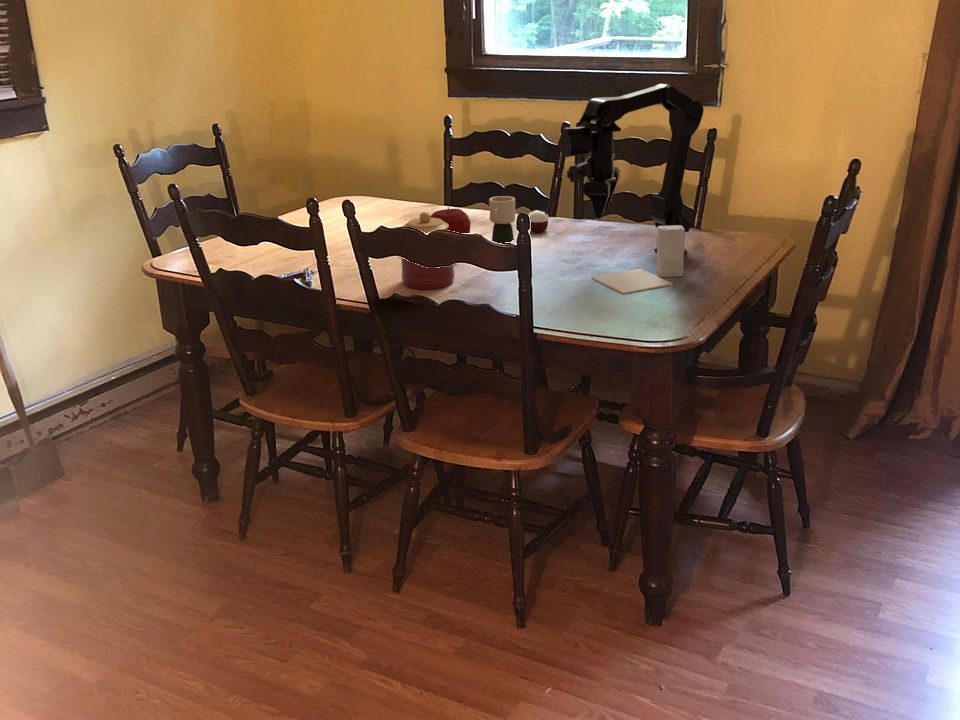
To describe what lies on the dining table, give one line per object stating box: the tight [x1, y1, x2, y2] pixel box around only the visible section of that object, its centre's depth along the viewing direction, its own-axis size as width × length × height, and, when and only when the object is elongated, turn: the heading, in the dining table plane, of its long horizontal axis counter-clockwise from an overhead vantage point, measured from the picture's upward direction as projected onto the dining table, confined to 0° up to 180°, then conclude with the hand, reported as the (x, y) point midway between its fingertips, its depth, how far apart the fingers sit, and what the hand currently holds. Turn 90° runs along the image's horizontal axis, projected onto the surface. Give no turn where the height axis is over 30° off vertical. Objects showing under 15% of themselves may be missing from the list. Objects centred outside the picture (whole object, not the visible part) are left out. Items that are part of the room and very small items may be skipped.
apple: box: [430, 206, 472, 234], centre depth 250 cm, size 12×12×13 cm
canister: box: [400, 211, 455, 290], centre depth 228 cm, size 13×13×18 cm
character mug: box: [488, 195, 516, 245], centre depth 258 cm, size 11×7×13 cm, turn 156°
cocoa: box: [528, 189, 555, 234], centre depth 270 cm, size 10×6×12 cm, turn 62°
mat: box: [591, 268, 674, 295], centre depth 226 cm, size 14×14×1 cm
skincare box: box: [656, 225, 686, 278], centre depth 228 cm, size 6×4×12 cm
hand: (601, 213), depth 235 cm, fingers open, 9 cm apart
